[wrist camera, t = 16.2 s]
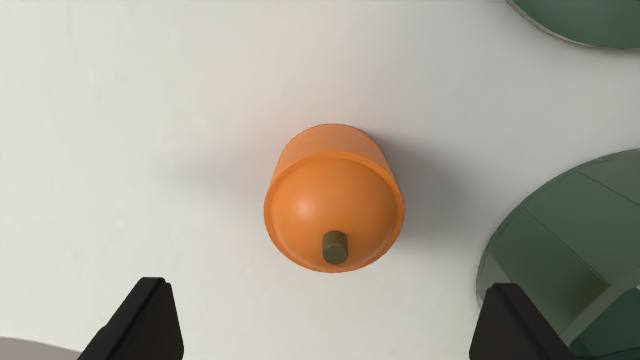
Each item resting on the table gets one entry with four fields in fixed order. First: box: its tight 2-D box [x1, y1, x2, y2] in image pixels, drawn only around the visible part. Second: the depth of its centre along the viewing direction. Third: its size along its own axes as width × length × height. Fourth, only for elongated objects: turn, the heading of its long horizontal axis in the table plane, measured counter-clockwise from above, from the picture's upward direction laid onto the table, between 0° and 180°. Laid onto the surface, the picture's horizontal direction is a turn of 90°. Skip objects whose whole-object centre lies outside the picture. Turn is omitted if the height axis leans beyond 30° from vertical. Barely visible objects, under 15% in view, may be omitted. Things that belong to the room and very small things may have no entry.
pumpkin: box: [264, 124, 404, 273], centre depth 16 cm, size 6×6×7 cm
